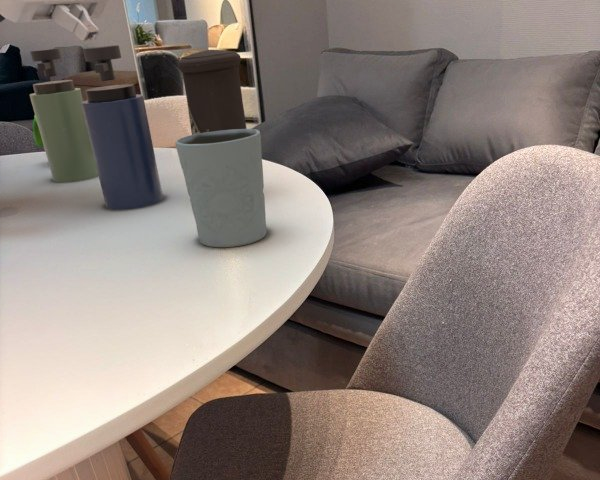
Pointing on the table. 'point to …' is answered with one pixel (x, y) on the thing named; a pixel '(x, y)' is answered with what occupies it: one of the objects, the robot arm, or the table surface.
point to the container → (213, 91)
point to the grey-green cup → (225, 185)
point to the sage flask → (64, 130)
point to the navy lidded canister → (122, 146)
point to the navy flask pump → (103, 60)
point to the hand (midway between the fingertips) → (91, 36)
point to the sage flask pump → (46, 60)
